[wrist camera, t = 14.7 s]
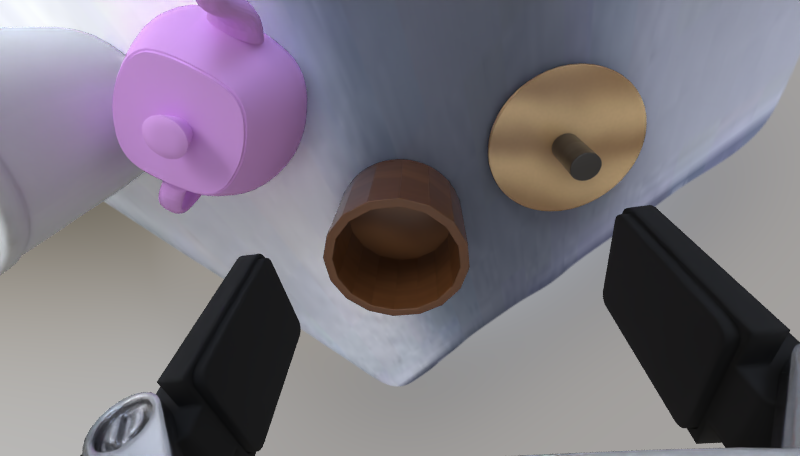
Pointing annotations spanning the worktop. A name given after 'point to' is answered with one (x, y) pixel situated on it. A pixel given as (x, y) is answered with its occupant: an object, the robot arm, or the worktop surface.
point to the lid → (567, 137)
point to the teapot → (208, 102)
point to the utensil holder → (55, 133)
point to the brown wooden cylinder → (398, 239)
